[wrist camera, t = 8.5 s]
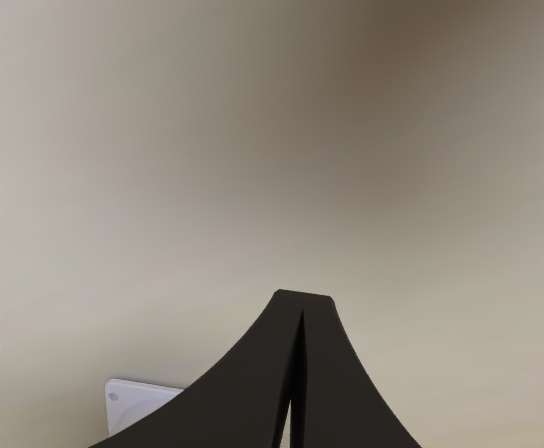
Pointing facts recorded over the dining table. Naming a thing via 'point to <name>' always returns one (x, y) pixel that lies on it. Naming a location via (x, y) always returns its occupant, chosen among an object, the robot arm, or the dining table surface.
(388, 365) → the dining table surface
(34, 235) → the dining table surface
